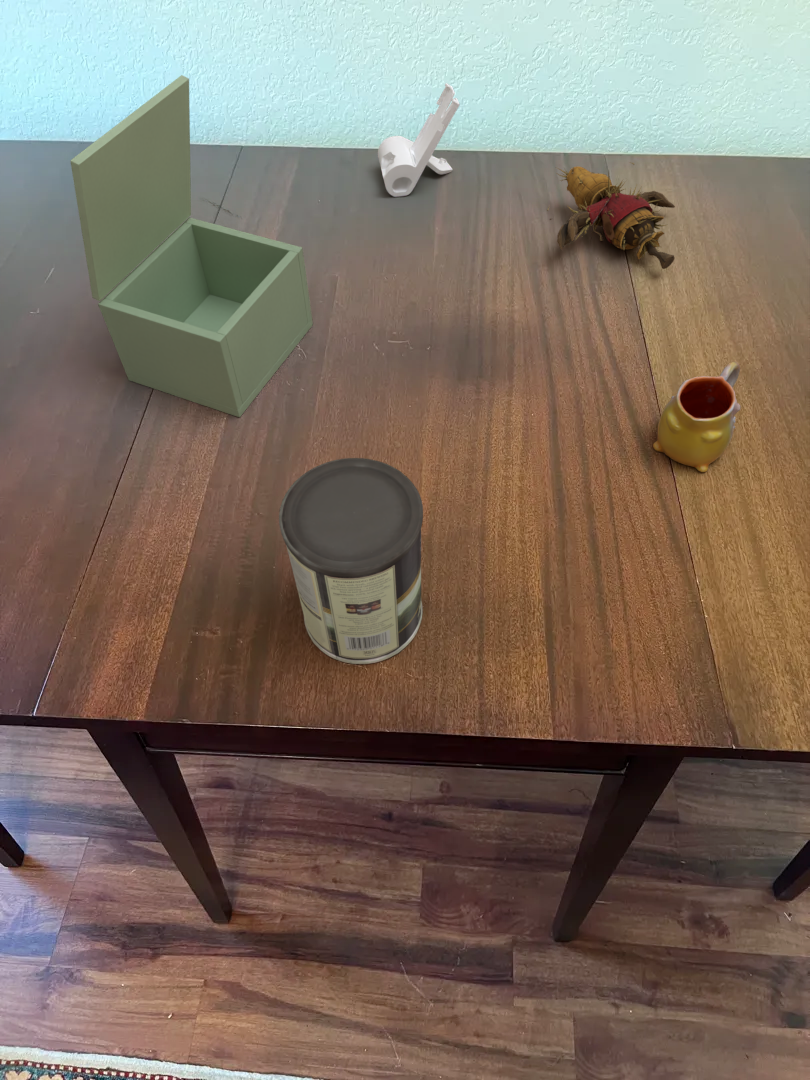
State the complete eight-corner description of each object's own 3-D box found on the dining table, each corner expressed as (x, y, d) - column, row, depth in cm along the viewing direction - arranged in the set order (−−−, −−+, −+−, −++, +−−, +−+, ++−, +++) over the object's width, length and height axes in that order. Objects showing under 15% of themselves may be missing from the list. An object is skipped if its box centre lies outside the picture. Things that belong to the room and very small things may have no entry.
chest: (313, 324, 89) (302, 247, 81) (239, 417, 81) (219, 341, 72) (209, 294, 92) (188, 217, 84) (128, 380, 84) (97, 303, 76)
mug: (702, 483, 75) (724, 435, 69) (639, 448, 77) (656, 400, 72) (759, 413, 80) (784, 364, 74) (698, 383, 82) (718, 333, 77)
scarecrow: (670, 207, 102) (688, 147, 96) (675, 282, 92) (695, 221, 86) (540, 196, 104) (549, 136, 97) (531, 268, 94) (540, 207, 88)
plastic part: (378, 168, 108) (373, 79, 99) (449, 161, 109) (451, 72, 99) (385, 198, 104) (381, 107, 94) (458, 190, 104) (461, 100, 95)
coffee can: (379, 543, 71) (372, 436, 60) (446, 624, 66) (452, 525, 55) (280, 598, 68) (252, 496, 56) (342, 688, 63) (326, 597, 51)
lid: (189, 78, 71) (181, 74, 71) (78, 164, 63) (69, 160, 63) (191, 214, 84) (184, 211, 84) (99, 301, 76) (92, 297, 76)
